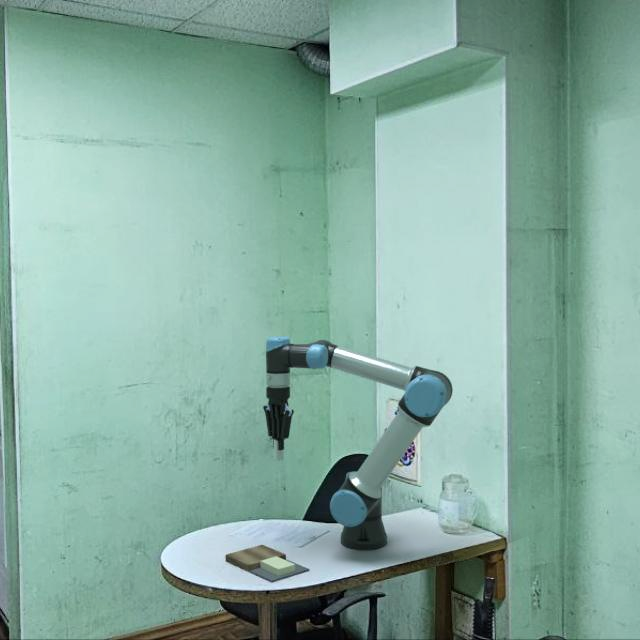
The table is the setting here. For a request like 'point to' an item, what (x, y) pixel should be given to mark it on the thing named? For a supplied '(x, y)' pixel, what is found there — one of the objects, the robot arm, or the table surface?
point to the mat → (274, 577)
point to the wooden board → (252, 557)
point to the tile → (277, 566)
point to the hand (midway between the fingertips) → (278, 459)
